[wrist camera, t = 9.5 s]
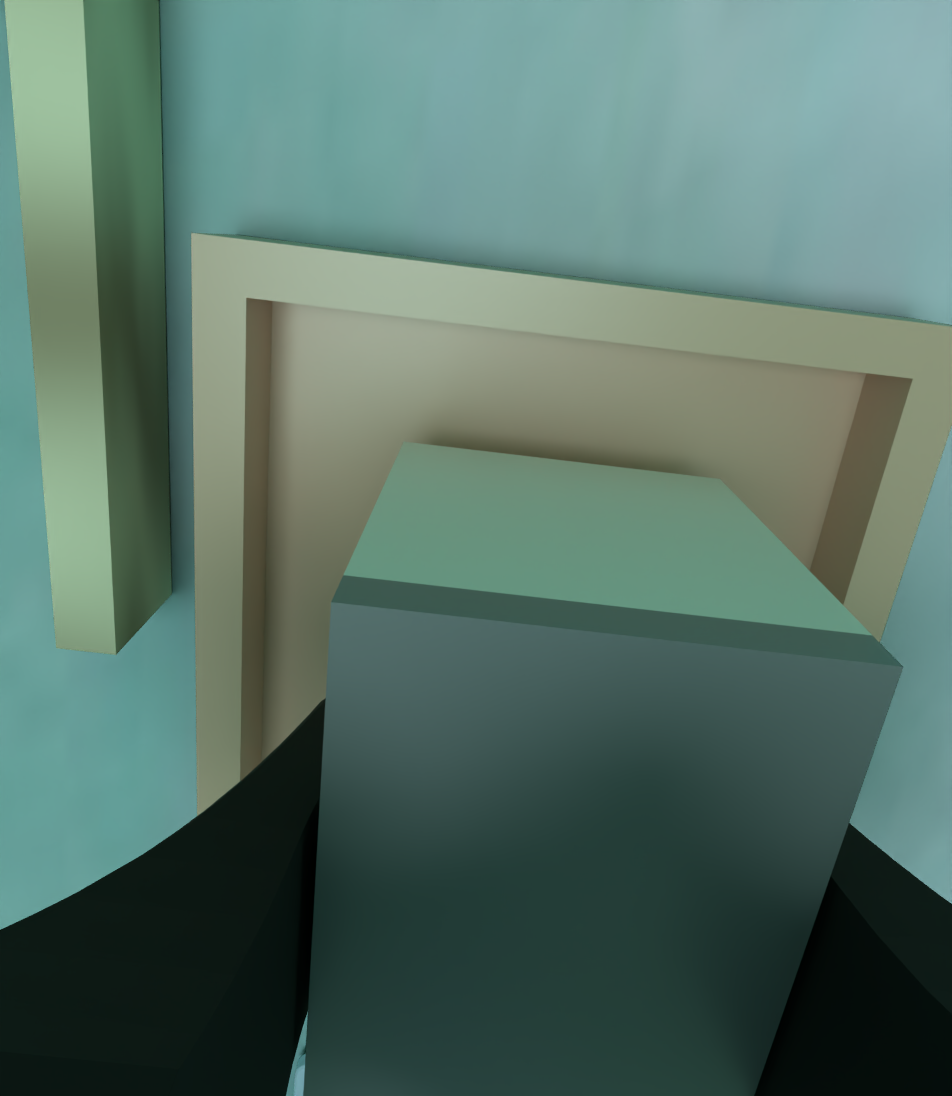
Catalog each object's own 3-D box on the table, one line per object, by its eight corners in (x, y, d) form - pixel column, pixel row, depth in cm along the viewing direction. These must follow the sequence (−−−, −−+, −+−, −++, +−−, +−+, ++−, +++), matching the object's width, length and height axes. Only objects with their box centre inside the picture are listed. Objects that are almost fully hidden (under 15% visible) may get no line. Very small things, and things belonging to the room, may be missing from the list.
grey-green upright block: (627, 876, 15) (704, 1238, 10) (368, 849, 15) (296, 1198, 10) (720, 479, 13) (902, 667, 7) (404, 441, 12) (331, 601, 7)
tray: (731, 923, 18) (759, 1003, 17) (230, 870, 18) (198, 946, 16) (912, 318, 14) (983, 330, 12) (235, 234, 13) (191, 232, 11)
